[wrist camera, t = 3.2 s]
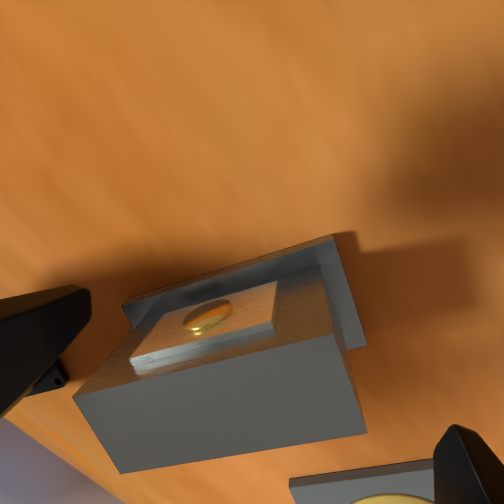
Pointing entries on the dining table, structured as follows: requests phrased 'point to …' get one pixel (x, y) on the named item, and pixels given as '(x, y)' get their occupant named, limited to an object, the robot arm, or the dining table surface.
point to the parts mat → (369, 485)
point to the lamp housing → (232, 363)
